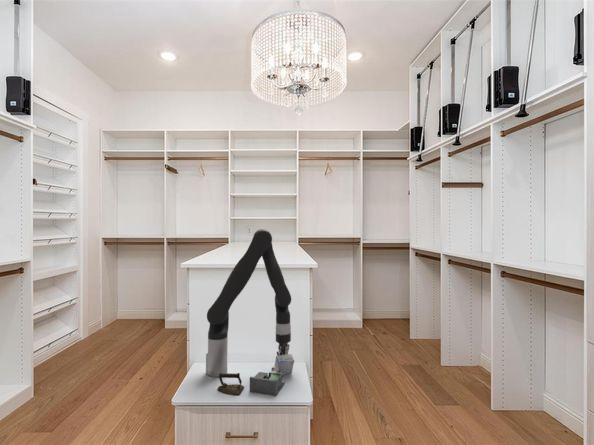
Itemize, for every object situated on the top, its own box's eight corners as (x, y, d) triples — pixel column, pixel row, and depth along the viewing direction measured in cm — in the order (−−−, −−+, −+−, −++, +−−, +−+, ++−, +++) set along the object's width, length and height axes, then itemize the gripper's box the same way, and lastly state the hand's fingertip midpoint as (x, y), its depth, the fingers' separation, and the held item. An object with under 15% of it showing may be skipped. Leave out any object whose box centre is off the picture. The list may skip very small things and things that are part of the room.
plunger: (264, 382, 148) (264, 372, 148) (272, 374, 157) (272, 365, 157) (280, 385, 146) (280, 374, 146) (287, 376, 154) (287, 367, 155)
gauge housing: (249, 391, 142) (249, 377, 142) (260, 381, 153) (260, 367, 153) (275, 396, 139) (275, 381, 139) (284, 384, 149) (284, 371, 149)
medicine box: (288, 366, 165) (291, 353, 161) (291, 373, 161) (294, 360, 157) (273, 368, 162) (276, 355, 158) (276, 376, 158) (278, 362, 154)
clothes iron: (240, 397, 139) (234, 374, 138) (215, 401, 141) (209, 378, 140) (245, 387, 146) (240, 365, 145) (222, 392, 147) (216, 370, 147)
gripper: (280, 327, 173) (280, 361, 172) (271, 335, 160) (271, 371, 160) (294, 328, 171) (294, 362, 170) (286, 336, 158) (286, 373, 157)
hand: (283, 366), depth 165 cm, fingers closed
